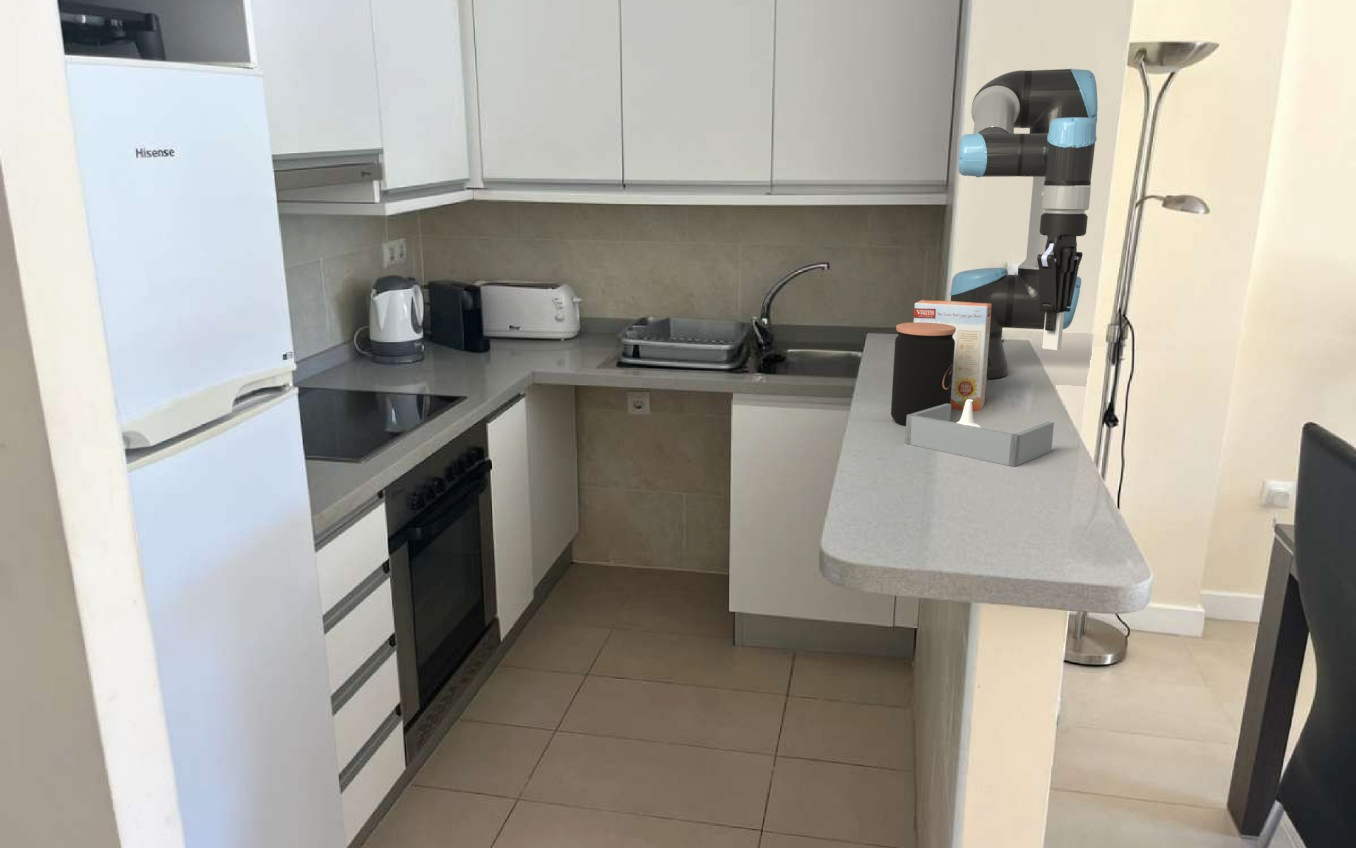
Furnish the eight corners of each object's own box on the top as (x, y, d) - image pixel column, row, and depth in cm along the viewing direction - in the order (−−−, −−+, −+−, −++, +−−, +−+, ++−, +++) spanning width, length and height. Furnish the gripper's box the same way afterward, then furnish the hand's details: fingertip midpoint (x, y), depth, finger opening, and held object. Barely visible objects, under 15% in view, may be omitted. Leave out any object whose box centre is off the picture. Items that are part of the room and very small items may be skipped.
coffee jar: (950, 430, 181) (958, 331, 176) (890, 427, 183) (896, 329, 178) (947, 417, 191) (954, 323, 186) (890, 414, 193) (895, 321, 188)
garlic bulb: (960, 439, 175) (961, 394, 173) (992, 445, 170) (993, 398, 168) (939, 446, 171) (939, 400, 169) (970, 451, 166) (972, 404, 164)
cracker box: (984, 407, 199) (993, 302, 194) (979, 413, 194) (988, 305, 189) (914, 400, 205) (920, 298, 200) (907, 406, 200) (914, 301, 195)
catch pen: (944, 430, 181) (946, 403, 179) (1051, 451, 167) (1054, 422, 166) (905, 443, 172) (906, 415, 170) (1014, 466, 158) (1017, 436, 157)
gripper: (1059, 210, 178) (1047, 342, 183) (1026, 211, 169) (1014, 350, 174) (1102, 212, 173) (1088, 347, 178) (1069, 213, 164) (1055, 355, 169)
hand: (1051, 348), depth 176 cm, fingers closed
